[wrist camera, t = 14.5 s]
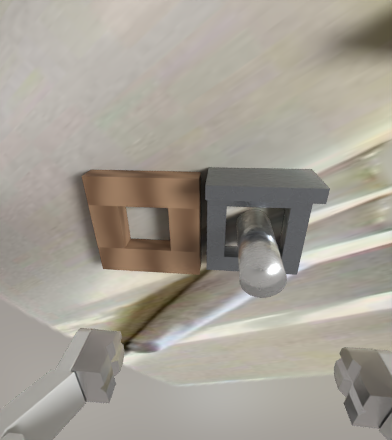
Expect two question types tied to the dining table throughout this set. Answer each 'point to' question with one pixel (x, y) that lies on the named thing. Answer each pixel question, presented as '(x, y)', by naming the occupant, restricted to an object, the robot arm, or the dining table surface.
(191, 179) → the socket block
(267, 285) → the steel cylinder
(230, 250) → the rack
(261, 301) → the dining table surface
